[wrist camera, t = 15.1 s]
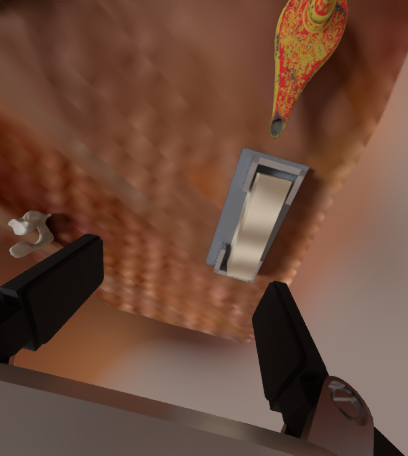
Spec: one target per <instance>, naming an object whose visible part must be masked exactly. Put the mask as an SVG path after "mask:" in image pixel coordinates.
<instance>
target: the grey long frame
mask: <svg viewBox="0 0 408 456" xmlns="http://www.w3.org/2000/svg"><path fill="white" fill-rule="evenodd" d="M258 164H261V165H264V166H267V167H271V168H274V169H278V170H281V171H284V172H288V173H290V175H289V177H288V180H289V181H292V183H291V186H290V188H289V191H288V193H287V195H286V198H285V200H284V203H285V204H289V205H291V203H292V201H293V199H294V197H295V195H296V193H297V191H298V189H299V187H300V184H301V182H302V180H303V178H304V176H305V174H306V172H307V171H305V170H302V169H299V168H295V167H292V166H288V165H285V164H282V163H278V162H275V161H271V160H268V159H264V158H261V157H258V156H251V158H250V161H249V163H248V166H247V169H246V172H245V175H244V178H243V181H242V183H241V186H240V188H241V190H242V191H244V192H248V189H249V187H250V184H251V181H252V179H253V176H254V173H255V171H256V168H257V165H258ZM225 251H226V242H223V241H221V244H220V246H219V249H218V252H217V255H216V258H215V261H214V267H213V272H215V273H218V274H222V275H225V276H229V277H232V278H236V279H239V280H243V281H246V282H250V283H253V280H254V278H255V276H256V274H257V272H258V270H259V268H260V266H261V264H262V262H263V260H262V258H260V261H259V263H258V266H257V268H256V271H255V273H254V275H253V278H252V280H246V279H242V278H238V277H234V276H230V275H227V262H224V261H222V259H223V257H224V254H225Z"/></svg>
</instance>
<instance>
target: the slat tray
mask: <svg viewBox="0 0 408 456" xmlns="http://www.w3.org/2000/svg"><path fill="white" fill-rule="evenodd" d="M251 156H258V157H261V158H264V159H268V160H271V161H275V162H278V163H282V164H285V165H288V166H292V167H295V168H299V169H302V170H305V171H308V169H309V167H308V166H304V165H301V164H297V163H294V162H290V161H287V160H284V159H280V158H277V157H273V156H270V155H267V154H263V153H260V152H256V151H253V150H249V149H246V148H243V149H242V152H241V155H240V158H239V161H238V164H237V167H236V170H235V174H234V177H233V180H232V183H231V186H230V189H229V192H228V195H227V198H226V201H225V204H224V207H223V210H222V213H221V217H220V220H219V223H218V226H217V229H216V232H215V235H214V238H213V241H212V244H211V247H210V250H209V253H208V256H207V260H206V263H207V264H210V265H214V261H215V258H216V255H217V252H218V249H219V246H220V244H221V241H223V242H226V251H225V254H224V257H223V259H222V261H224V262H227V256H228V252H229V249H230V246H231V243H232V240H233V237H234V234H235V230H236V227H237V224H238V221H239V218H240V215H241V211H242V208H243V205H244V202H245V199H246V196H247V193H248V192H244V191H242V190H241V188H240V186H241V183H242V181H243V178H244V175H245V172H246V169H247V166H248V163H249V161H250V158H251ZM256 172H260V173H265V174H269V175H273V176H278V177H281V178H284V179H286V180H288V177H289V175H290V173H288V172H284V171H281V170H278V169H274V168H271V167H267V166H264V165H261V164H258V165H257V168H256ZM306 173H307V172H306ZM305 175H306V174H305ZM304 177H305V176H304ZM303 179H304V178H303ZM302 182H303V180H302ZM302 182H301V184H302ZM301 184H300V186H301ZM299 188H300V187H299ZM298 190H299V189H298ZM297 192H298V191H297ZM296 194H297V193H296ZM295 196H296V195H295ZM294 198H295V197H294ZM293 200H294V199H293ZM292 202H293V201H292ZM291 204H292V203H291ZM290 206H291V205H289V204H285V203H283V205H282V208H281V210H280V212H279V215H278V217H277V220H276V222H275V224H274V227H273V229H272V232H271V234H270V237H269V239H268V241H267V244H266V246H265V249H264V251H263V254H262V256H261V258H262V260H263V261H264V259H265V257H266V255H267V253H268V251H269V249H270V247H271V245H272V243H273V241H274V239H275V237H276V234H277V232H278V230H279V228H280V226H281V224H282V222H283V220H284V218H285V216H286V214H287V212H288V210H289V208H290ZM262 263H263V262H262ZM261 265H262V264H261ZM260 267H261V266H260ZM259 269H260V268H259ZM258 271H259V270H258ZM257 273H258V272H257ZM256 275H257V274H256ZM255 277H256V276H255Z"/></svg>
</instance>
